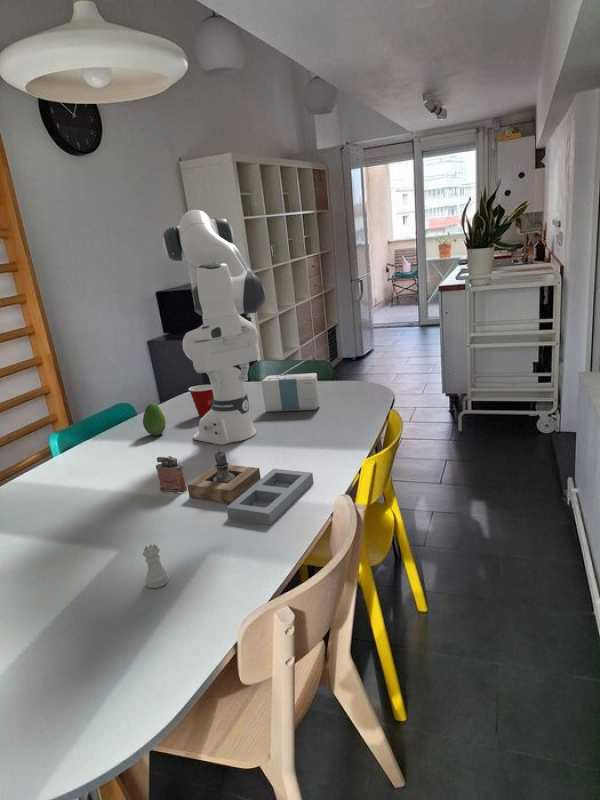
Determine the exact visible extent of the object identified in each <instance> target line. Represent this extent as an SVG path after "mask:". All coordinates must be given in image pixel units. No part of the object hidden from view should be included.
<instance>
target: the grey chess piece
mask: <svg viewBox="0 0 600 800" xmlns="http://www.w3.org/2000/svg"><path fill="white" fill-rule="evenodd" d="M226 454H227V453H226V452H225V451H222V450H221V449H220V448H218V450H217V451H216V453H215V454H214V457H215V459H214V460H215V465H214V466H215V467H217V476H215V477H214V479H213V481H214V482H220V483H229V482H230V481H231V480H232V479H234V478H235V475H234V474H232V473H229V470H228V465H230V464H229V462H228V461H227V455H226Z"/></svg>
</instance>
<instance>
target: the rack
mask: <svg viewBox="0 0 600 800" xmlns="http://www.w3.org/2000/svg"><path fill="white" fill-rule="evenodd" d="M313 475H314V474H313V472H311V471H310V472H309V471H301V470H300V471H299V470H291V469H290V470H289V469H279V468H273V469H271V470H269V472H268V473H266V474H265V475H264V476H263V477H262V478H261V479H260V480H259V481H258V482H257V483H255V484H254V485H253V486H252V487H251V488H249V489H248V490H247V491H246V492H244V493H243V494H242V495H241V496H240V497H238V498H237V499H236V500H235V501H233V502H232V503H231V504H228V506H226V507H225V509H226V513H227V519H229V520H234V521H235V520H236V521H243V522H248V523H255V524H261V525H267V526H272V525H273V524H274V523H275V522H276V521H277V519H279V518H280V516H282V515H283V513H285V511H287V510H288V509H289V507H291V506H292V505H293V504H294V503H295V502H296V501H297V500H298V499H299V498H300V497H301V496H302V495H303V494H304V493H305V492H306V491H307V490H308V489H309V488H310V487H311V486H312V485H313V484H314V476H313ZM277 482H279V483H277ZM276 483H277V484H284V483H288V484H287V485H289V486H288V487H280V486H276V485H277V484H276ZM275 484H276V485H275ZM256 502H264V503H270V504H269V505H268V506H266V507H261V506H255V505H254V504H255V503H256Z"/></svg>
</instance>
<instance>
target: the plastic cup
mask: <svg viewBox="0 0 600 800" xmlns="http://www.w3.org/2000/svg"><path fill="white" fill-rule="evenodd" d="M188 391H189V393H190V395H191V399H192V400H193V404H194V406H195V409H196V411H197V415H198V417H199V418H200V419H201V418H202V417H203V416H204V415H205V414H206V413H207V412H208V411H209V410H210V409H211V405H212V403H211V404H209V403H210V402H208V401H210V400H212V399H213V398H214V396H213V391H212V386H211V384H201V385H195V386H191V387H189V388H188ZM208 404H209V405H208Z"/></svg>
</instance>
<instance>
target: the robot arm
mask: <svg viewBox="0 0 600 800" xmlns="http://www.w3.org/2000/svg"><path fill="white" fill-rule="evenodd" d="M234 240H235V235H234V230H233V228H232V226H231V224H230V223H229V221H228V220H227V219H226V218H224V217H223V218H222V217H215V218H213V219H212V218H211V217H210V216H209V215H208V214H207V213H206V212H205V211H202V210H200V209H192V210H188V211H187V212H185V213H184V214H183V215H182V217H181V219H180V221H179V225H177V226H176V225H175V226H174V225H173V226H170V227H168V228H166V229H165V230H164V231H163V237H162V248H163V250H164V252H165V254H166V255H167V256H168V258H169V259H170V260H171V261H174V262H183V261H185V260H187V261H188V274H189V281H190V285H191V290H190V291H191V294H192V298H193V305H194V310H193V311H194V312H195V313H197V314H198V315H199V316H200V317H202V324H201V325H200V326H198V327H197V328H195V329H192V330H190V331H188V332H186V333H185V335H183V339H182V350H183V352H184V354H185V356H186V357H187V358H188V359H189V360H191V361H192V365H193V369H194V370H195V372H196V373H197V374H204V373H206V375H207V376H208V378H209V382H210V385H211V386H212V391H213V396H214V398H213V399H212V400H210V401H208V402H210V403H209V404H211V403H212V405H211V409H210V410H209V411H208V412H207V413H206V414H205V415H204V416H203V417H202V418H201V417H200V420H199V422H198V431H197V432H195V433H194V435H193V437H192V438H193V440H195V441H200V442H205V443H209V444H215V445H220V446H222V445H226V444H230V443H236V442H241V441H243V440H248V439H250V438H251V437H253V436H254V435H256V434H257V429H256V428H255V425H254V423H253V419H252V416H251V413H250V404H249V403H250V402H249V397H248V393H247V392H246V384H245V382H247V381H248V380H249V376H248V373H249V369H250V362H255V361H258V357H259V353H258V347H257V345H258V343H259V338H260V337H259V331H258V329H257V327H256V325H255V324H254V323H253V322H252V321H249V320H248V319H246V318H245V317H243V316H241V315H243V314H256V313H257V312H258V311H259V310H260V309H261V308H262V307H263V305H265V301H266V295H265V294H266V293H265V288H264V285H263V284H262V283H263V282H262V281H261V279H260V278H259V277H258V276H257V275H256V274H255V273H254V272H253V271H252V269H251V267H250V266H249V264H248V262H247V261H246V259H245V258H244V257H243V255H242V253H241V252H240V250H239V249H238V248H237V246H236V245H235V244H234ZM232 275H233V276H232ZM235 366H239V368H241V369H239V368H237V367H235ZM209 404H208V405H209Z"/></svg>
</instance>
